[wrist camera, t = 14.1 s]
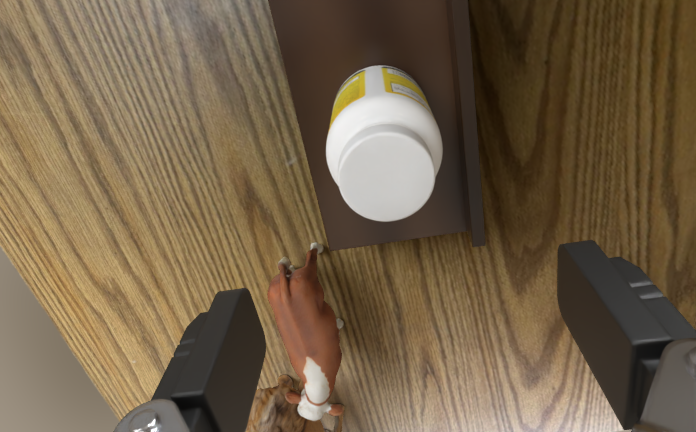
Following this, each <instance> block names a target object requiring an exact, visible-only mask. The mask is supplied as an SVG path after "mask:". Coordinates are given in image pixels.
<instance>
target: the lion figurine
mask: <svg viewBox="0 0 696 432" xmlns="http://www.w3.org/2000/svg"><path fill="white" fill-rule="evenodd" d="M278 384H279V385H278V386H276V387H273V388H266V389H261V388H260V389H258V390H256V393H255V396H254V400H253V404H252V408H251V412H250V416H249V420H248V424H247V427H246V431H245V432H329V431H328V430H324V428H323V425H322V423H321V421H320V419H319V420H316V421H312V420H308V419H306V418H304V417H302V416H300V414H299V412H298V409H297V408H298V405H299V404H291V403H289V402H288V401H287V400H286V398H285V394H286V393H287V392H295V393H298V394H301V393H302V391H303V389H304V385H303V382H302V379H301V378H300V383H299V386H298V390H296V389H294V388H293V381H292V379H291V378H290V377H289V376H287V375H280V377H279V378H278ZM337 405H339V406H341V407H342V409H343V413H342V414H341V415H339V416H335V425H334V432H341V431H342V420H343V415H344V411H345V408H344V406H343V405H341V404H337Z"/></svg>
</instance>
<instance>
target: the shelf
mask: <svg viewBox="0 0 696 432" xmlns="http://www.w3.org/2000/svg"><path fill="white" fill-rule="evenodd" d="M268 2H269V6H270V10H271V14H272V18H273V22H274V26H275V30H276V34H277V38H278V42H279V46H280V50H281V54H282V59H283V63H284V67H285V71H286V75H287V79H288V83H289V87H290V91H291V95H292V99H293V103H294V107H295V111H296V115H297V119H298V123H299V127H300V131H301V135H302V140H303V144H304V148H305V152H306V156H307V160H308V164H309V168H310V172H311V176H312V180H313V184H314V188H315V192H316V196H317V200H318V204H319V208H320V212H321V217H322V221H323V225H324V229H325V233H326V237H327V241H328V245H329V249H330V251H334V250H341V249H348V248H355V247H362V246H369V245H375V244H382V243H389V242H396V241H403V240H410V239H417V238H424V237H430V236H437V235H444V234H451V233H458V232H465V231H467V233H468V236H469V238H470V241H471V244H472V246H473V247H479V246H485V231H484V217H483V203H482V189H481V175H480V161H479V147H478V134H477V120H476V106H475V92H474V78H473V64H472V51H471V37H470V23H469V9H468V0H268ZM378 65H384V66H391V67H395V68H397V69H400V70H402V71H404V72H405V73H407V74H408V75H410V76H411V77H412V78H413V79H414V80H415V81H416V82H417V84H418V85H419V86H420V88H421V89H422V91H423V93H424V95H425V98H426V100H427V102H428V105H429V107H430V109H431V112H432V114H433V116H434V119H435V121H436V123H437V125H438V128H439V131H440V135H441V139H442V147H443V154H442V161H441V165H440V168H439V170H438V173H437V175H436V177H435V184H434V188H433V191H432V193H431V195H430V197H429V199H428V200H427V202H426V203H425V204H424V205H423V206H422V207H421V208H420V209H419V210H418V211H417V212H415V213H414V214H412V215H410V216H408V217H406V218H404V219H400V220H397V221H389V222H382V221H375V220H371V219H368V218H365V217H363V216H361V215H359V214H358V213H356V212H355V211H354V210H352V209H351V208H350V207H349V205H348V204H347V203H346V202H345V200H344V199H343V197H342V195H341V192H340V189H339V186H338V185H337V184H336V182H335V181H334V179H333V177H332V175H331V173H330V170H329V167H328V164H327V158H326V142H327V136H328V132H329V127H330V122H331V117H332V111H333V106H334V101H335V98H336V96H337V93H338V91H339V89H340V88H341V86H342V85H343V83H344V82H345V81H346V80H347V79H348V78H349V77H350V76H352V75H353V74H354V73H356V72H358V71H359V70H362V69H364V68H367V67H371V66H378Z"/></svg>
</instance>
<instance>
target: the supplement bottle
mask: <svg viewBox="0 0 696 432" xmlns="http://www.w3.org/2000/svg"><path fill="white" fill-rule="evenodd" d="M442 154H443V147H442V139H441V135H440V131H439V128H438V125H437V123H436V121H435V119H434V116H433V114H432V112H431V109H430V107H429V105H428V102H427V100H426V98H425V95H424V93H423V91H422V89H421V88H420V86H419V85H418V84H417V82H416V81H415V80H414V79H413V78H412V77H411V76H410V75H408V74H407V73H405V72H404V71H402V70H400V69H397V68H395V67H391V66H384V65H378V66H371V67H367V68H364V69H362V70H359V71H358V72H356V73H354V74H353V75H352V76H350V77H349V78H348V79H347V80H346V81H345V82H344V83H343V85H342V86H341V88H340V89H339V91H338V93H337V96H336V98H335V101H334V106H333V111H332V117H331V122H330V127H329V132H328V136H327V142H326V158H327V164H328V167H329V170H330V173H331V175H332V177H333V179H334V181H335V182H336V184H337V185H338V186H339V189H340V192H341V195H342V197H343V199H344V200H345V202H346V203H347V204H348V205H349V207H350V208H351V209H352V210H354V211H355V212H356V213H358V214H359V215H361V216H363V217H365V218H368V219H371V220H375V221H382V222H389V221H397V220H400V219H404V218H406V217H408V216H410V215H412V214H414V213H415V212H417V211H418V210H419V209H420V208H421V207H422V206H423V205H424V204H425V203H426V202H427V200H428V199H429V197H430V195H431V193H432V191H433V188H434V184H435V177H436V175H437V173H438V170H439V168H440V165H441V161H442Z"/></svg>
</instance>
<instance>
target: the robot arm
mask: <svg viewBox="0 0 696 432" xmlns="http://www.w3.org/2000/svg"><path fill="white" fill-rule="evenodd" d="M557 297H558V304H559V308H560V312H561V315H562V317H563V320H564V322H565V323H566V325H567V327H568V329H569V331H570V332H571V334H572V336H573V338H574V340H575V342H576V343H577V345H578V347H579V349H580V351H581V352H582V354H583V356H584V358H585V360H586V362H587V363H588V365H589V367H590V369H591V371H592V372H593V374H594V376H595V378H596V380H597V382H598V383H599V385H600V387H601V389H602V391H603V392H604V394H605V396H606V398H607V400H608V402H609V403H610V405H611V407H612V409H613V411H614V413H615V414H616V416H617V418H618V420H619V422H620V423H621V425H622V427H623V429H624V430H629V429H632V431H631V432H696V330H695V329H694V328H693V327H692V326H691V325H690V324H689V322H688V321H687V320H686V319H685V318H684V317H683V316H682V315H681V313H680V312H679V311H678V310H677V309H676V308H675V307H674V306H673V304H672V303H671V302H670V301H669V300H668V299H667V298H666V297H663V293H662V292H661V291H660V290H659V289H658V288H657V287H656V285H653V283H652V281H651V280H650V279H649V278H648V276H647V275H646V274H645V273H644V272H643V271H642V270H641V269H640V268H639V267H637V266H636V265H634V264H632V263H630V262H628V261H627V260H625V259H623V258H621V257H614V258H608V257H607V256H606V255H605V253H604V252H603V251H602V250H601V249H600V247H599V246H598V245H597V244H596V242H595V241H593V240H587V241H580V242H573V243H566V244H560V245H559V247H558V274H557ZM265 352H266V341H265V335H264V331H263V328H262V325H261V322H260V320H259V317H258V314H257V311H256V308H255V305H254V303H253V300H252V297H251V294H250V292H249V290H248V289H247V288H241V289H234V290H227V291H220V292H218V293H217V294H216V296H215V298H214V300H213V302H212V304H211V307H210V309H209V311H208V312H204V313H200V314H199V315H198V316H197V317H196V318H195V319H194V320H193V321H192V322H191V323H190V324H189V325H188V327H187V328H186V330H185V332H184V334H183V336H182V338H181V340H180V345H178V346H177V348H176V350H175V352H174V357H172V359H171V361H170V363H169V365H168V367H167V369H166V371H165V373H164V375H163V377H162V379H161V381H160V383H159V385H158V387H157V389H156V391H155V393H154V395H153V397H152V399H151V401H148V402H146V403H143V404H141V405H140V406H138V407H136V408H135V409H133V410H132V411H130V412H129V413H128V414H127V415H126V416H125V417H124V418H123V419H122V420H121V421H120V422H119V423H118V425H117V427H116V428H115V430H114V432H245V431H246V427H247V424H248V420H249V416H250V412H251V408H252V404H253V400H254V396H255V393H256V389H257V385H258V381H259V377H260V373H261V369H262V365H263V362H264V358H265Z"/></svg>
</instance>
